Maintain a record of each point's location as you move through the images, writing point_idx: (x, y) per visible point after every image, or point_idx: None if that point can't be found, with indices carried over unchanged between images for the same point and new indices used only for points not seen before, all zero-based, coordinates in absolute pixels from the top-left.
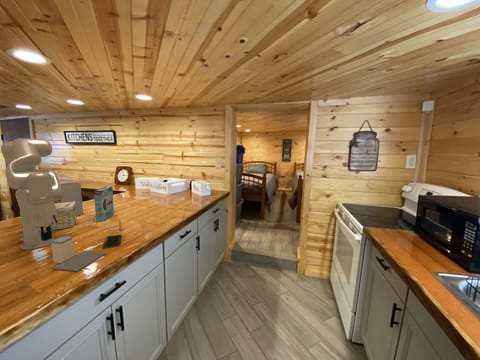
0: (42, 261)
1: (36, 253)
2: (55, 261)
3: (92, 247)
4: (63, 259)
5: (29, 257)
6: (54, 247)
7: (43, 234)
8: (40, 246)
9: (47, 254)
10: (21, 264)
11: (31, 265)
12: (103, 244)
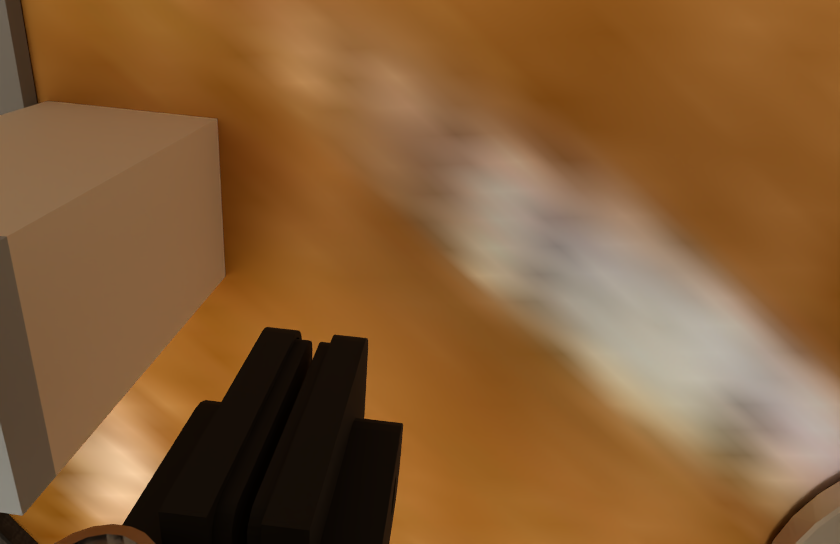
0: (408, 130)
1: (734, 346)
2: (177, 118)
3: (108, 491)
4: (9, 118)
5: (736, 235)
6: (9, 193)
7: (204, 458)
8: (826, 504)
9: (534, 322)
10: (664, 22)
11: (462, 2)
12: (6, 540)
